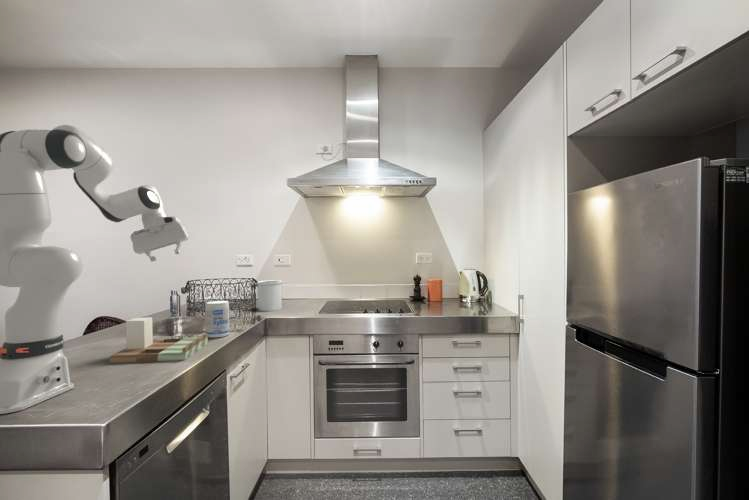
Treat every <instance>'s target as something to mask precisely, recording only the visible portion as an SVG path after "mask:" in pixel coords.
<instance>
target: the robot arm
mask: <svg viewBox="0 0 749 500" xmlns="http://www.w3.org/2000/svg"><path fill="white" fill-rule="evenodd" d="M63 169H66V170H68V169H69V170H70V169H72V170H73V175H72V176H73V180H74V182H75V183H76V185H77V187H78V188H79V189H80V190H81V191H82V192H83V193H84V194H85V195H86V197H87V198H88V199H89V200H90V201H91V202H92V203H93V204H94V205H95V206H96V207H97V209H99V211H100V212H101V214H102V215H103V216H104V218H106V220H109V221H111V222H114V223H120V222H123V221H125V220H127V219H129V218H130V219H131V218H133V217H136V216H140V215H141V222H142V225H143V228H142V229H140V230H136V231H135V230H134V231H133V232H132V233H131V235H130V240H131V242H132V248H133V249H132V250H133V252H134V253H136V254H138V255H142V254H145V255H146V256H147V257H148V258H149V260H150V262H157V258H156V256H154V255H151V254H152V252H153V251H155V250H159V249H163V248H166V247H169V246H173V245H175V246H176V248H175V249H174V253H175V254H176V255H180V254H181V250H180V249H181V246H182V242H186V241H188V240H189V236H190V235H189V234H188V231H187V229H186V227H185V225H183V224H182V223H183V222H182V220H181V219H180V218H178V217H176V216H167V214H166V212H165V210H164V208H165V207H164V204H163V200H162V197H161V195H160V193H159V191H158V189H157V188H156V186H152V185H148V184H147V185H140V186H138V187H134V188H132V189H127V190H126V191H122V192H120V193H116V194H107V193H106V192H105V191H104V190H103V188H102V187H101V186H100V184H101V183H102V182H104V181H105V180H106V179H108V178H109V176H110V175H111V173H112V171H113V169H114V161H113V158H112V156H111V155H110V153H109V152H108V151H107V150H106V149H105V148H104V147H103V146H102V145H101V144H100V143H98V142H97V141H96V140H95V139H94V138H92V137H91V136H90V135H88V134H87V133H85V132H84V131H82V130H81V129H80V128H77V127H75V126H73V125H70V124H60V125H58V126H56V127H53V128H52V129H38V128H37V129H36V128H32V129H29V128H28V129H22V130H18V131H17V130H9V131H6V132H5V131H4V132H3V133H0V286H2V287H5V288H6V287H7V288H19V291H18V295H17V298H16V300H15V302H14V303H13V305H12V306H10V307H9V308H8V309H7V310H6V312H5V315H4V327H5V328H4V329H5V330H4V333H5V335H4V336H5V341H4V342H3V344H2V347H0V415H3V414H8V413H15V412H20V411H22V410H25V409H28V408H29V407H33V406H34V405H37V404H40V403H43V401H46V400H49V399H51V398H53V397H56V396H58V395H60V394H63V393H65V392H67V391H70V390H73V389H74V388H75V384H74V383H73V382H72V381H71V379H70V370H69V364H68V363H69V362H68V358H67V357H66V356H65V354H64V352H63V348H64V341H65V340H64V335H63V334H62V326H61V325H62V320H61V319H62V307H63V306H62V305H63V302H64V299H65V297H66V294H67V291H68V289H69V288H70V286H71V285H72V284H73V283H74V282H75V281H77V280H78V279H79V278H80V277H81V274H82V272H83V260H82V259H81V257H80V255H79V254H78V253H77V252H75V251H74V250H72V249H68V248H65V247H64V248H63V247H58V246H52V245H51V246H42V239H43V235H44V232H45V230H47V229H48V228H49V227H50V226H51V225H52V221H53V219H52V212H51V208H50V201H49V197H48V191H47V190H48V189H47V185H46V182H45V179H44V173H45V172H46V171H54V170H55V171H56V170H63ZM175 254H174V255H175Z"/></svg>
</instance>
